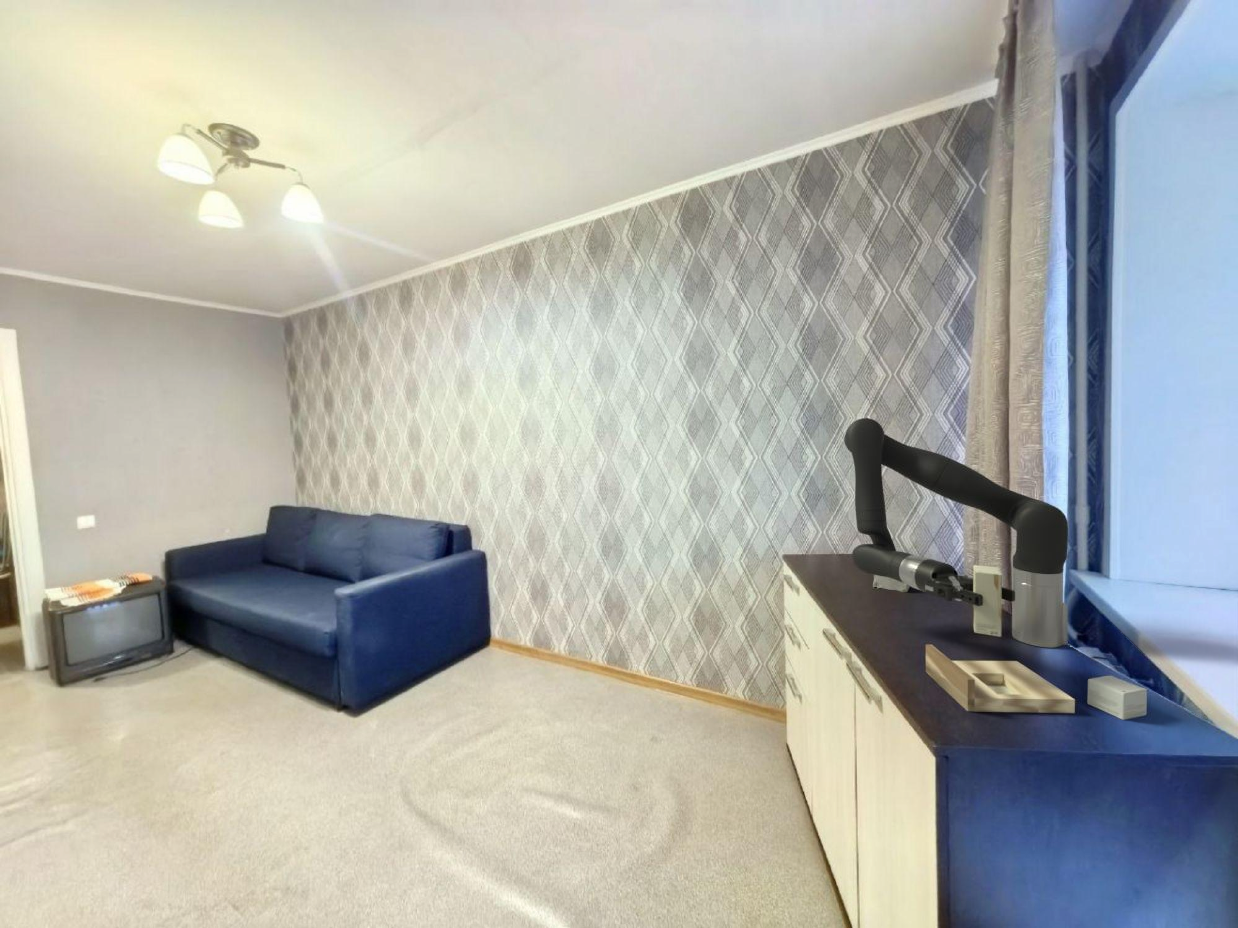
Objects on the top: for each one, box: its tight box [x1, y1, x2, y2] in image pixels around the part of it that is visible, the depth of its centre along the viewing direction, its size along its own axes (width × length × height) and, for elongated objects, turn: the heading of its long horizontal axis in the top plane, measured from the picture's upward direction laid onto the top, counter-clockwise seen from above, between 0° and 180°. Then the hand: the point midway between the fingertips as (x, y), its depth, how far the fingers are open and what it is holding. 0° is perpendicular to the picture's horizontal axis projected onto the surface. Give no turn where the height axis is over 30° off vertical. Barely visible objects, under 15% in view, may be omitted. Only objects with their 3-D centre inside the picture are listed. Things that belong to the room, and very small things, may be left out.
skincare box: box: [972, 564, 1003, 638], centre depth 98 cm, size 6×4×12 cm
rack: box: [925, 644, 1076, 714], centre depth 97 cm, size 18×15×6 cm
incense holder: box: [872, 575, 911, 593], centre depth 160 cm, size 10×8×10 cm
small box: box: [1086, 675, 1148, 721], centre depth 90 cm, size 6×6×5 cm
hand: (997, 598), depth 96 cm, fingers closed on skincare box, 7 cm apart
